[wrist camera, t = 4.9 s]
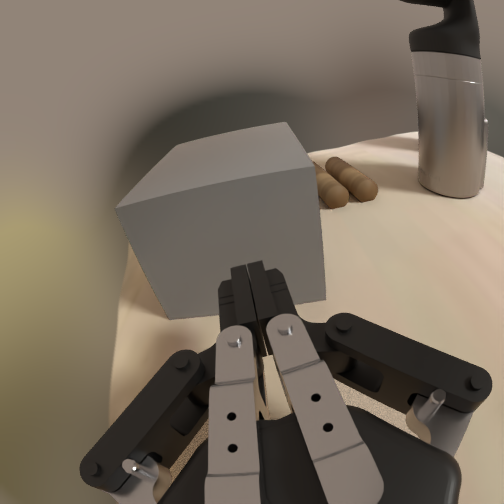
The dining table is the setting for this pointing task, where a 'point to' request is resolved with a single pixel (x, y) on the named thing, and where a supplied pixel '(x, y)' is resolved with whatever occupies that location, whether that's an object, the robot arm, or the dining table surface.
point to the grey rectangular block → (227, 218)
